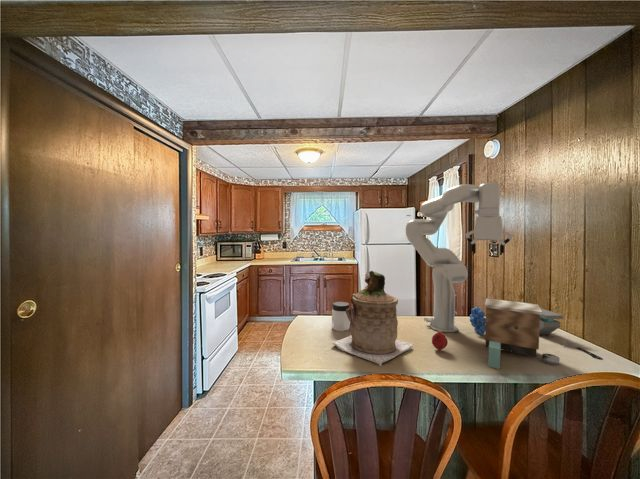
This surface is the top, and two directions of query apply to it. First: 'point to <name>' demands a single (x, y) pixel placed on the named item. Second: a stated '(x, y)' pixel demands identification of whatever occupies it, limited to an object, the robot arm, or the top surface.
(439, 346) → the onion
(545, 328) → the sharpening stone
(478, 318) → the grapes
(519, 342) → the cabinet
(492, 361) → the sage green block
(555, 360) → the grey flat rounded lump
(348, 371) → the top surface
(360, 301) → the cookie jar
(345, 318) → the jar
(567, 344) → the cleaver
